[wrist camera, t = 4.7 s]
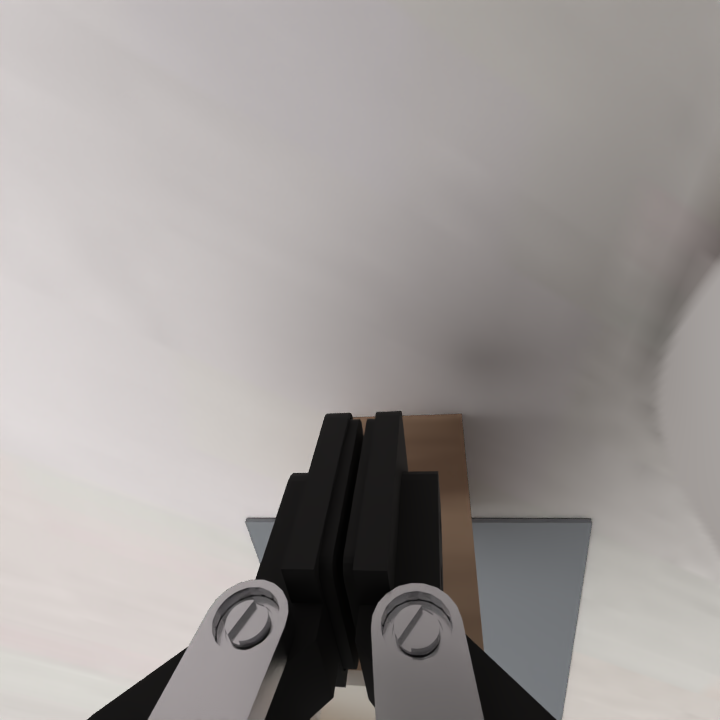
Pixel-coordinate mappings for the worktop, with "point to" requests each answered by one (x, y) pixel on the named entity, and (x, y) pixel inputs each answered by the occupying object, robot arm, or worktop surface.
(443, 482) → the pillar block
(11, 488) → the worktop surface
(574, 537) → the mat
